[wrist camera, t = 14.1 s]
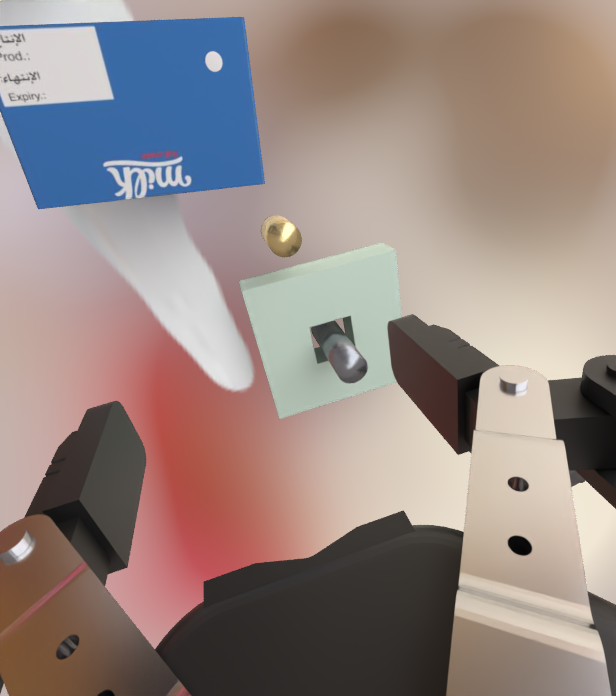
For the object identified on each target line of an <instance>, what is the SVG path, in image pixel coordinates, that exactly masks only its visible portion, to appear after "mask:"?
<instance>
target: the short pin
mask: <svg viewBox="0 0 616 696" xmlns="http://www.w3.org/2000/svg"><path fill="white" fill-rule="evenodd" d="M261 234H262V237H263V239H264V240H265V242H266V243H267V244H268V246H269V247H270V249H271V250H272V251H273V252H274V253H275V254H276V255H278V256H280V257H289V256H292V255H293V254H295V253H296V252H297V251H298V250H299V248H300V246H301V242H302V240H301V239H302V238H301V234H300V232H299V230H298V229H297V228H296V227H295V226H294V225H293V224H292V223H290V222H289V221H288V220H287V219H285V218H284V217H282V216H280V215H272V216H269V217H268V218H267V219H265V220H264V222H263V224H262V227H261Z"/></svg>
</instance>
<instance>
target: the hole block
mask: <svg viewBox="0 0 616 696" xmlns="http://www.w3.org/2000/svg"><path fill="white" fill-rule="evenodd" d="M239 284H240V288H241V291H242V295H243V298H244V301H245V305H246V308H247V311H248V315H249V318H250V322H251V325H252V328H253V332H254V335H255V338H256V342H257V345H258V348H259V352H260V355H261V359H262V362H263V365H264V369H265V372H266V375H267V379H268V382H269V385H270V389H271V392H272V396H273V399H274V402H275V406H276V409H277V412H278V416H279V419H282V418H285V417H288V416H291V415H294V414H298V413H301V412H304V411H307V410H310V409H314V408H317V407H320V406H323V405H326V404H329V403H333V402H336V401H339V400H342V399H345V398H349V397H352V396H355V395H358V394H361V393H364V392H368V391H371V390H374V389H377V388H380V387H383V386H387V385H390V384H393V383H396V382H397V381H396V379H395V377H394V374H393V371H392V367H391V358H390V349H389V340H388V330H387V325H388V322H389V321H391V320H395V319H398V318H402V314H401V303H400V291H399V279H398V268H397V256H396V249H394V248H392V247H390V246H388V245H386V244H384V243H379V244H375V245H371V246H367V247H364V248H360V249H356V250H352V251H349V252H345V253H341V254H338V255H334V256H330V257H326V258H322V259H319V260H315V261H311V262H308V263H304V264H300V265H297V266H293V267H289V268H285V269H282V270H278V271H274V272H270V273H267V274H263V275H259V276H255V277H252V278H248V279H244V280H240V281H239ZM340 318H343V322H344V328H345V334H346V336H347V337H348V338H349V340H350V341H351V342H352V343H353V345H354V346H355V347H356V349H357V350H358V351H359V352H360V354H361V355H362V356H363V357H364V359H365V360H366V362H367V364H368V370H367V373H366V375H365V376H364V377H363V378H362V379H361V380H360V381H358V382H356V383H350V384H349V383H344V382H343V381H341V380H340V379H339V377H338V375H337V374H336V372H335V370H334V369H333V367H332V365H331V364H330V362H329V360H328V359H327V357H326V356H325V354H324V352H323V351H322V349H321V347H318V348H315V349H314V347H313V342H312V338H311V332H310V328H309V327H313V326H316V325H320V324H323V323H326V322H330V321H333V320H337V319H340Z"/></svg>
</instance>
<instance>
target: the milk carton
mask: <svg viewBox="0 0 616 696" xmlns="http://www.w3.org/2000/svg"><path fill="white" fill-rule="evenodd" d="M0 112H1V115H2V117H3V120H4V122H5V125H6V127H7V130H8V133H9V135H10V138H11V140H12V143H13V145H14V148H15V151H16V153H17V156H18V158H19V161H20V164H21V166H22V169H23V171H24V174H25V176H26V179H27V182H28V184H29V187H30V189H31V192H32V195H33V197H34V200H35V202H36V205H37V207H38V209H45V208H54V207H63V206H72V205H80V204H89V203H98V202H107V201H116V200H125V199H134V198H143V197H152V196H161V195H170V194H178V193H187V192H196V191H205V190H214V189H223V188H232V187H241V186H249V185H259V184H265V181H264V173H263V165H262V157H261V149H260V141H259V133H258V125H257V117H256V109H255V101H254V93H253V86H252V77H251V69H250V61H249V53H248V46H247V37H246V29H245V21H244V17H230V18H203V19H177V20H151V21H125V22H99V23H73V24H46V25H20V26H0Z"/></svg>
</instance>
